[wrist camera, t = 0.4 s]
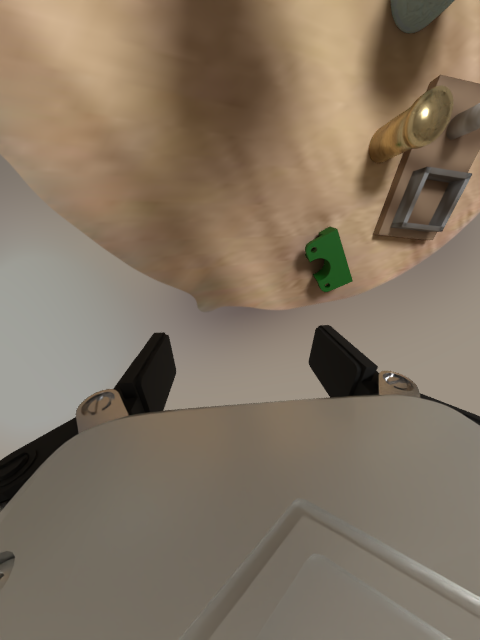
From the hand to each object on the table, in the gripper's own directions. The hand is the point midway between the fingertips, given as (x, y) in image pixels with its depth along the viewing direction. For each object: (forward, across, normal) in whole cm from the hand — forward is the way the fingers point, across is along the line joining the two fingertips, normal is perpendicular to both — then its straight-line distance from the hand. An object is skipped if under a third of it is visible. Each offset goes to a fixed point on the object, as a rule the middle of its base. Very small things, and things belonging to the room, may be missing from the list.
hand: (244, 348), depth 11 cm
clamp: (+30, -20, -2) cm, 37 cm away
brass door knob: (+30, -28, -21) cm, 46 cm away
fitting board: (+30, -39, -17) cm, 52 cm away
